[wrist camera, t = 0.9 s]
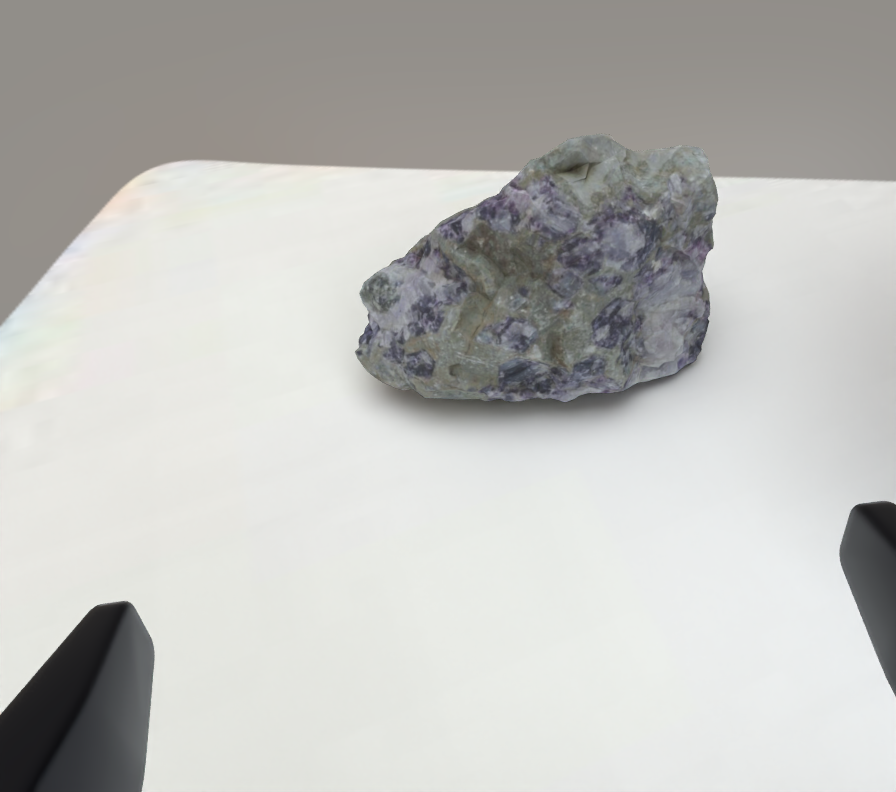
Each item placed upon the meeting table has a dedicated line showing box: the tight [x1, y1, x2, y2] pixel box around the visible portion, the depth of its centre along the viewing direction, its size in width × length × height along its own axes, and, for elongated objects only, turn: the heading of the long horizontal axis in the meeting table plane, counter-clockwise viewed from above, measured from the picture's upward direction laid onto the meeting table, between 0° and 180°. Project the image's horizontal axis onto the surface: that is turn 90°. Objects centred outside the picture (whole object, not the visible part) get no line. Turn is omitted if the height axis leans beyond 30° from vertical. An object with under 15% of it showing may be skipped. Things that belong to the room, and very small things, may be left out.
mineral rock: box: [355, 134, 718, 402], centre depth 31 cm, size 13×11×10 cm
